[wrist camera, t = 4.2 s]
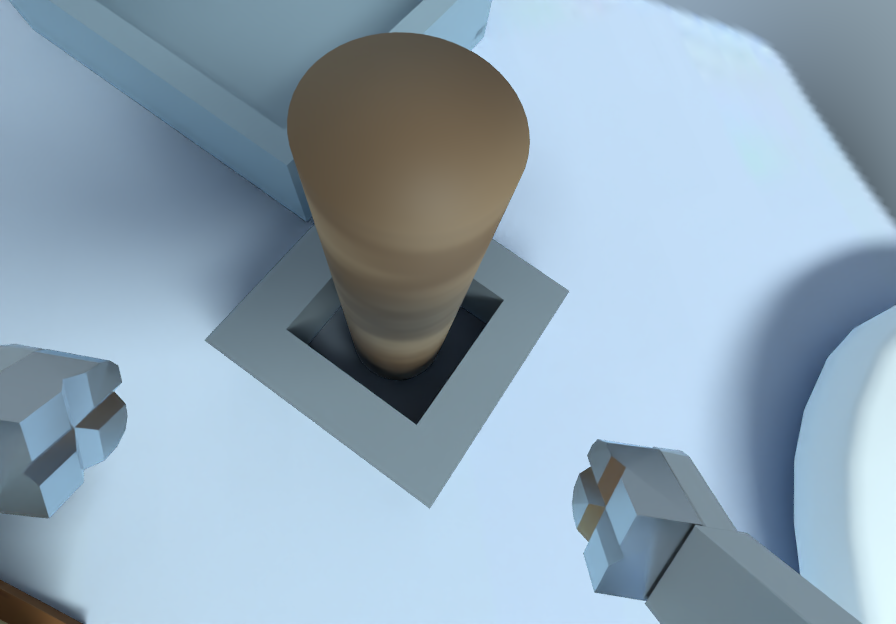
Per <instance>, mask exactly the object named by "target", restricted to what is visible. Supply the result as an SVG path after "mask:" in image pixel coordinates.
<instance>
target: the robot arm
mask: <svg viewBox="0 0 896 624" xmlns="http://www.w3.org/2000/svg"><path fill="white" fill-rule="evenodd" d="M121 383H122V380H121V376H120V371H119V367H118V365H116V364H114V363H113V362H111V361H109V360H104V359H98V358H93V357H87V356H82V355H76V354H71V353H66V352H60V351H55V350H49V349H46V350H45V349H41V348H36V347H30V346H24V345H19V344H10V345H1V346H0V513H3V514H13V515H22V516H31V517H40V518H50V517H51V516H52V515H53V514H54V513H55V512H56V511H57V510H58V509H59V508H60V507H61V506H62V505H63V504H64V503H65V502H66V500H67V499H68V498H69V497H70V496H71V495H72V494H73V493H74V492H75V491H76V490H77V489H78V488H79V487H80V486H81V485H82V484H83V483H84V470H85V469H87V468H89V467H91V466H93V465H96V464H98V463H100V462H102V461H104V460H105V459H106V458H107V457H108V456H109V455H110V454H111V453H112V452H113V451H114V449H115V448H116V447H117V446H118V444H119V442H120V440H121V438H122V436H123V434H124V432H125V429H126V422H127V410H126V404H125V403H124V402H123V401H122V400H121V398H120V397H119V396H118V395H117V394H116V393H115V392H114V391H115V390H116V389H117V388H118V387H119V385H120V384H121ZM587 456H588V459H589V462H590V465H591V467H589V468H588V469H586V470H585V471H583V472H582V473H580V474H579V476H578V478H577V481H576V484H575V486H574V491H573V500H572V507H573V517H574V520H575V524H576V528H577V530H578V531H579V532H580V533H581V534H582V535H583V536H584V538H585V539H586V540H587V541H588V545H587V547H586V549H585V551H584V553H583V554H584V557H585V561H586V564H587V568H588V572H589V575H590V579H591V582H592V586H593V589H594V592H595V593H601V594H607V595H613V596H619V597H625V598H631V599H637V600H643V601H646V603H645V604H646V606H647V607H648V608H649V610H650V611H651V612H652V613H653V615H654V616H655V617H656V619H657V620H658V621H659V622H660V624H862V623H861V622H860V621H859V620H857V619H856V618H855V617H853V616H852V615H851V614H850V613H848V612H847V611H846V610H844V609H843V608H842V607H841V606H839V605H838V604H837V603H836V602H834V601H833V600H832V599H830V598H829V597H828V596H827V595H825V594H824V593H823V592H822V591H820V590H819V589H818V588H816V587H815V586H814V585H813V584H811V583H810V582H809V581H807V580H806V579H805V578H804V577H802V576H801V575H800V574H799V573H797V572H796V571H795V570H793V569H792V568H791V567H790V566H788V565H787V564H786V563H784V562H783V561H782V560H781V559H779V558H778V557H777V556H776V555H774V554H773V553H772V552H770V551H769V550H768V549H767V548H765V547H764V546H763V545H762V544H760V543H759V542H758V541H756V540H755V539H754V538H753V537H751V536H750V535H749V534H747V533H744V532H738V531H737V530H736V529H735V527H734V525H733V524H732V522H731V521H730V519H729V518H728V516H727V515H726V513H725V511H724V510H723V508H722V507H721V505H720V504H719V502H718V500H717V499H716V497H715V496H714V494H713V493H712V491H711V490H710V488H709V486H708V485H707V483H706V482H705V480H704V479H703V477H702V476H701V474H700V472H699V471H698V469H697V468H696V466H695V465H694V463H693V462H692V460H691V458H690V457H689V456H688V455H687V454H685V453H684V452H683V451H680V450H672V449H665V448H658V447H653V448H651V447H646V446H639V445H633V444H626V443H620V442H613V441H607V440H600V439H598V440H597V441H596V442H595V443H594V444H593V445H592V447H591V449H590V451H589V453H588V455H587Z"/></svg>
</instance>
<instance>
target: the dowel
mask: <svg viewBox="0 0 896 624" xmlns="http://www.w3.org/2000/svg"><path fill="white" fill-rule="evenodd" d="M287 135H288V140H289V146H290V149H291V152H292V155H293V159H294V162H295V165H296V168H297V171H298V174H299V177H300V180H301V183H302V186H303V189H304V192H305V195H306V199H307V202H308V205H309V208H310V211H311V214H312V217H313V220H314V223H315V226H316V229H317V232H318V235H319V238H320V242H321V245H322V248H323V251H324V254H325V257H326V260H327V263H328V266H329V269H330V272H331V275H332V278H333V281H334V285H335V288H336V291H337V294H338V297H339V300H340V303H341V306H342V309H343V312H344V315H345V318H346V321H347V325H348V328H349V331H350V334H351V337H352V340H353V343H354V346H355V349H356V352H357V355H358V357H359V359H360V360H361V362H362V363H363V364H364V365H365V366H366V368H368V369H369V370H370V371H371V372H373V373H374V374H376V375H378V376H380V377H383V378H386V379H391V380H404V379H409V378H412V377H415V376H417V375H419V374H421V373H422V372H424V371H425V370H426V369H427V368H428V367H429V366H430V365H431V364H432V363H433V362H434V360H435V358H436V357H437V355H438V352H439V350H440V348H441V346H442V344H443V342H444V340H445V338H446V335H447V333H448V331H449V329H450V327H451V325H452V323H453V321H454V318H455V316H456V314H457V312H458V310H459V308H460V306H461V304H462V301H463V299H464V297H465V295H466V293H467V291H468V289H469V287H470V284H471V282H472V280H473V278H474V276H475V274H476V272H477V270H478V267H479V265H480V263H481V261H482V259H483V257H484V255H485V253H486V250H487V248H488V246H489V244H490V242H491V240H492V238H493V236H494V233H495V231H496V229H497V227H498V225H499V223H500V221H501V219H502V216H503V214H504V212H505V210H506V208H507V206H508V204H509V202H510V199H511V197H512V195H513V193H514V191H515V189H516V187H517V185H518V182H519V180H520V178H521V176H522V174H523V171H524V169H525V166H526V163H527V159H528V154H529V145H530V139H529V127H528V122H527V117H526V115H525V112H524V109H523V106H522V104H521V102H520V100H519V98H518V96H517V94H516V93H515V91H514V90H513V88H512V87H511V85H510V84H509V83H508V81H507V80H506V79H505V78H504V77H503V76H502V75H501V74H500V72H498V71H497V70H496V69H495V68H494V67H493V66H492V65H491V64H490V63H488V62H487V61H485V60H484V59H483V58H481V57H480V56H479V55H477V54H475V53H473V52H472V51H470V50H468V49H466V48H464V47H462V46H460V45H458V44H455V43H453V42H450V41H447V40H444V39H441V38H438V37H434V36H429V35H425V34H417V33H406V32H392V33H380V34H374V35H369V36H365V37H361V38H358V39H355V40H352V41H349V42H347V43H345V44H342V45H340V46H338V47H337V48H335V49H333V50H331V51H330V52H328V53H327V54H325V55H324V56H323V57H321V58H320V59H319V60H317V61H316V62H315V63H314V64H313V65H312V66H311V67H310V68H309V69H308V70H307V72H306V73H305V75H304V76H303V77H302V79H301V80H300V81H299V83H298V85H297V87H296V89H295V91H294V93H293V96H292V99H291V102H290V105H289V110H288V116H287Z"/></svg>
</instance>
